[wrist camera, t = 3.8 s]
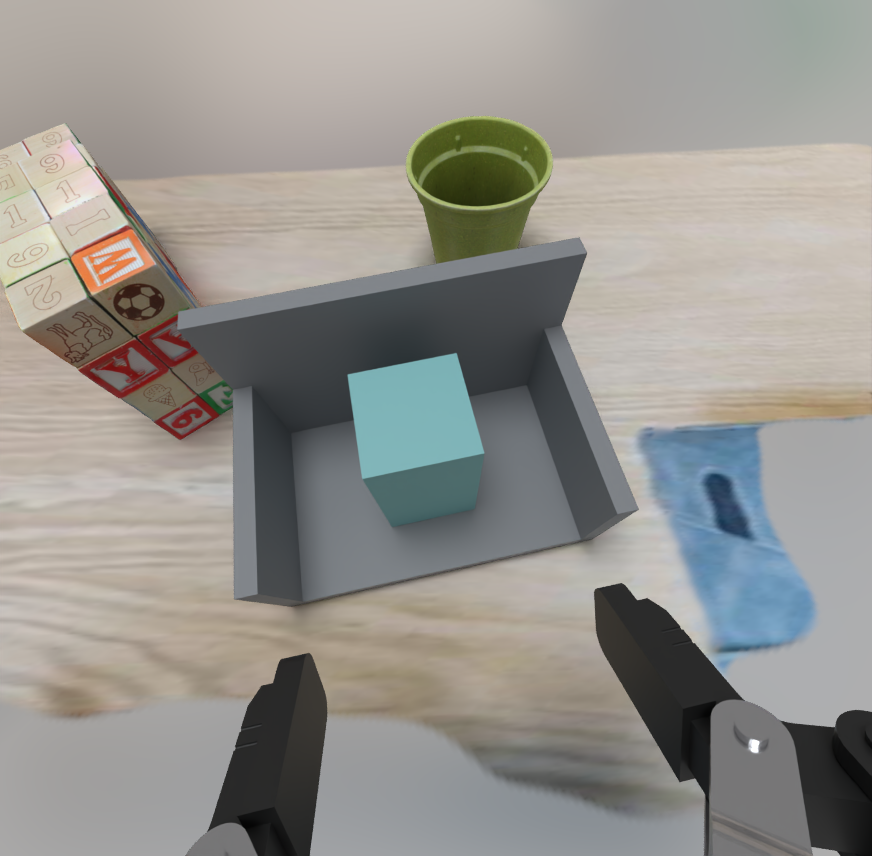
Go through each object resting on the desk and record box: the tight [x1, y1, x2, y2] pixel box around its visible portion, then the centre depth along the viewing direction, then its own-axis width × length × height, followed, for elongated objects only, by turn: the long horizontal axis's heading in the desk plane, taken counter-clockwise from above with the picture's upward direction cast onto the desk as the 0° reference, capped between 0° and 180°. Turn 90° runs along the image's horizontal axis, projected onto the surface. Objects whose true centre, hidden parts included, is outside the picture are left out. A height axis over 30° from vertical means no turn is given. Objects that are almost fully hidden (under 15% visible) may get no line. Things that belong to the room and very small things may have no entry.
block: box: [348, 353, 484, 527], centre depth 22 cm, size 5×5×9 cm
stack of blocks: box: [0, 124, 233, 439], centre depth 28 cm, size 21×6×12 cm, turn 37°
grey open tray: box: [177, 238, 639, 607], centre depth 22 cm, size 12×18×12 cm, turn 102°
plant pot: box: [406, 116, 553, 264], centre depth 31 cm, size 9×9×9 cm
